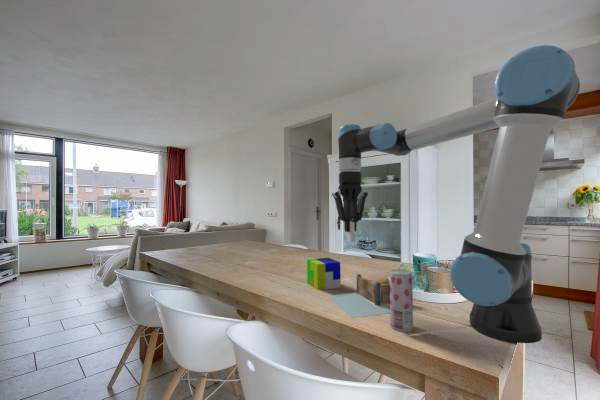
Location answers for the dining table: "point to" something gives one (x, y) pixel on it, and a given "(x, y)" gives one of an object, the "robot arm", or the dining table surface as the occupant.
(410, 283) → the beverage can
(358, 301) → the card
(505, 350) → the dining table surface
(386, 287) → the fence fixed
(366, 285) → the fence panel
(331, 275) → the puzzle toy
